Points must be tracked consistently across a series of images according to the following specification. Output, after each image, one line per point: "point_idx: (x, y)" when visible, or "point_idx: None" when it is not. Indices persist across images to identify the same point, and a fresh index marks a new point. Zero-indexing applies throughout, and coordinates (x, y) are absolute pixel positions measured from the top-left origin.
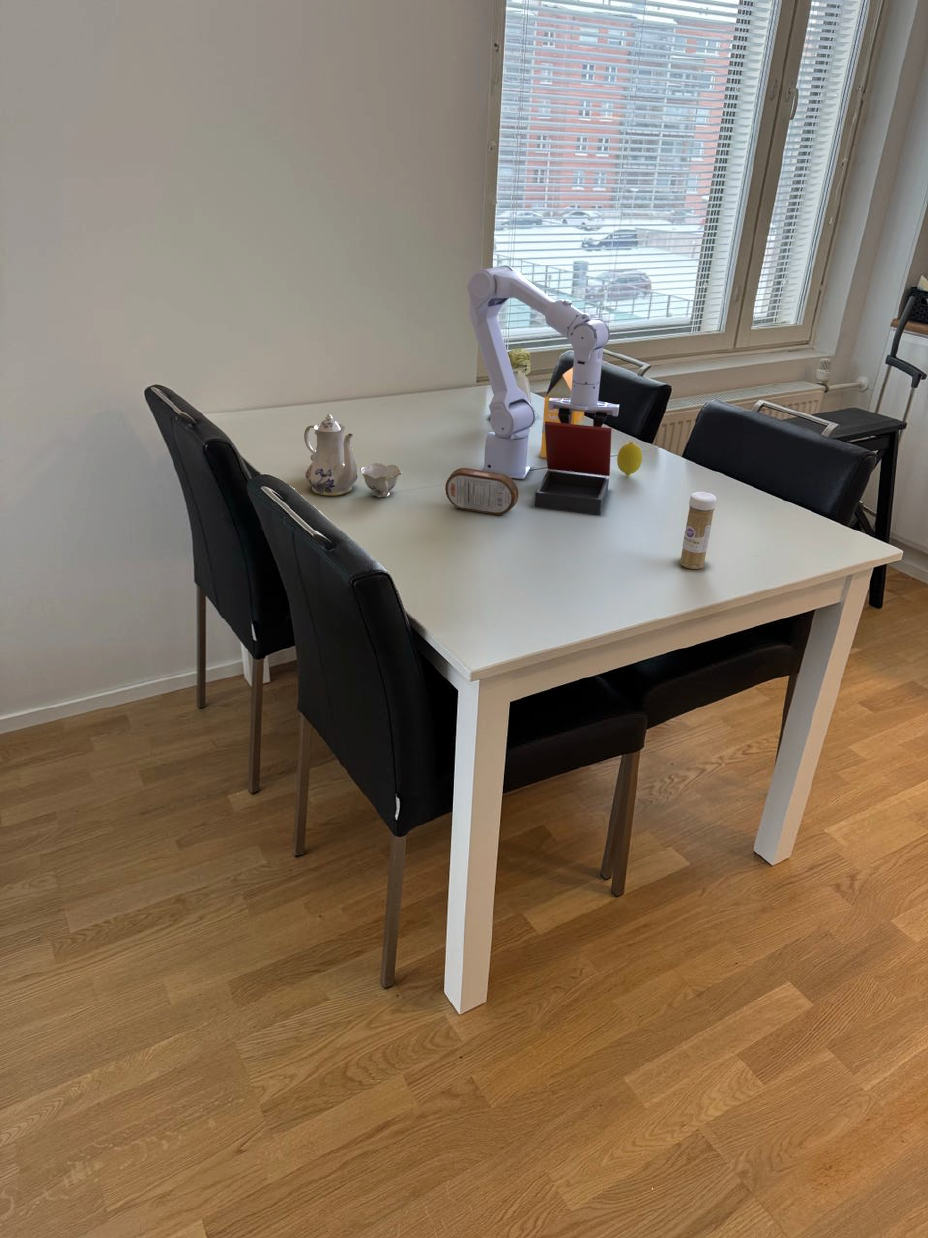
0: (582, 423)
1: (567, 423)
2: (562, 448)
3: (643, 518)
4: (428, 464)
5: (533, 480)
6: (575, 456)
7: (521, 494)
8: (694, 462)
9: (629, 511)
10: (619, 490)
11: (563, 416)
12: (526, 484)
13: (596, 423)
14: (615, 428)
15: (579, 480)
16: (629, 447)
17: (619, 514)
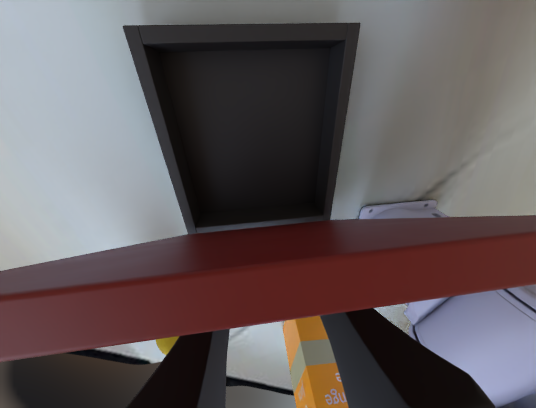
0: (292, 378)
1: (372, 342)
2: (327, 224)
3: (20, 66)
4: (516, 209)
5: (342, 212)
6: (273, 228)
7: (367, 126)
8: (125, 355)
9: (90, 112)
10: (176, 228)
11: (450, 396)
12: (355, 188)
13: (171, 402)
14: (256, 383)
15: (254, 214)
16: (174, 340)
17: (101, 74)
